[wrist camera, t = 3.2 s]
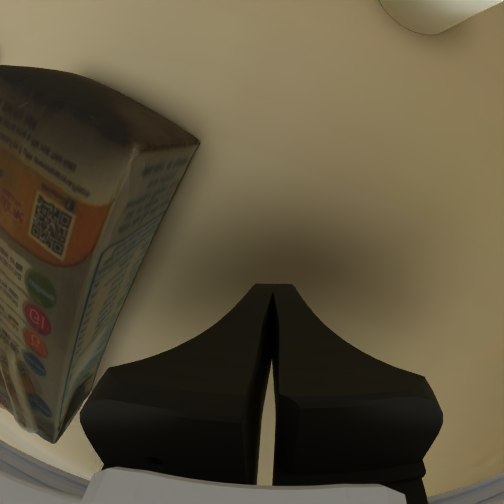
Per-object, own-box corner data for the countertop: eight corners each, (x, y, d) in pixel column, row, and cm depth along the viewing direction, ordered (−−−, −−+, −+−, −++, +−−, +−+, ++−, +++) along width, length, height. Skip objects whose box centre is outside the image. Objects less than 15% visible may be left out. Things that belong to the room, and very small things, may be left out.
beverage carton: (11, 332, 18) (-39, 381, 12) (79, 68, 12) (-18, 51, 6) (93, 392, 19) (52, 457, 13) (212, 133, 13) (153, 131, 7)
